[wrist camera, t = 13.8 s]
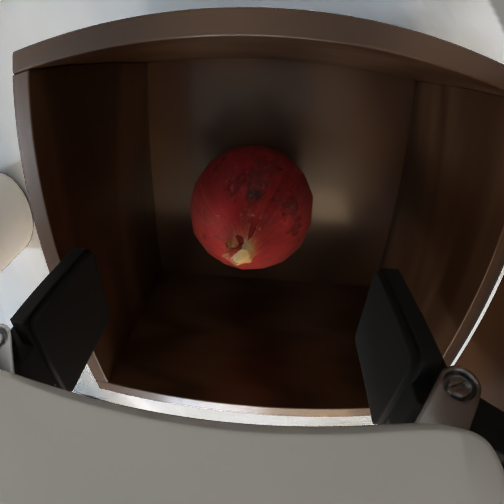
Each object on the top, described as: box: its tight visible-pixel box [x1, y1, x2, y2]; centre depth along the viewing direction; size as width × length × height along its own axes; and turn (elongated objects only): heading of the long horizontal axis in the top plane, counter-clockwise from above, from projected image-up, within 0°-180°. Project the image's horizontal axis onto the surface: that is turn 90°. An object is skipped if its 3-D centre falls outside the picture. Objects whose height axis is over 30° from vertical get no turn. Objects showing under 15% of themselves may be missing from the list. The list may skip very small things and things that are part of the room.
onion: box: [190, 145, 313, 270], centre depth 15 cm, size 6×6×8 cm
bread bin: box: [13, 7, 504, 417], centre depth 14 cm, size 17×16×11 cm
